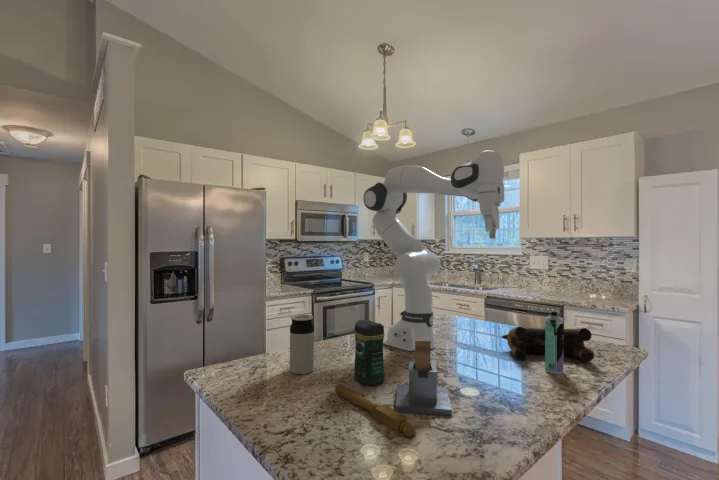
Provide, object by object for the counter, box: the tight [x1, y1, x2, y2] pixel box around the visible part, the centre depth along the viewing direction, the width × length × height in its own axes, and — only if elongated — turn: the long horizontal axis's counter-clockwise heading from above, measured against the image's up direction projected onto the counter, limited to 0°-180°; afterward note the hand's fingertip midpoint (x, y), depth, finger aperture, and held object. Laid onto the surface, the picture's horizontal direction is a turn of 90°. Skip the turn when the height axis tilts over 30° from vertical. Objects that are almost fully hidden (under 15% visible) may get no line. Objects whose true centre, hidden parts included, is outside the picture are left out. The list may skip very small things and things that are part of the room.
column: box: [414, 337, 432, 370], centre depth 99 cm, size 4×4×15 cm
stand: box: [394, 361, 453, 417], centre depth 99 cm, size 14×14×10 cm
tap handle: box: [334, 383, 417, 438], centre depth 93 cm, size 3×3×30 cm
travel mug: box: [289, 314, 315, 375], centre depth 122 cm, size 8×8×18 cm
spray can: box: [544, 310, 565, 375], centre depth 122 cm, size 6×6×20 cm
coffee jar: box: [353, 319, 385, 386], centre depth 114 cm, size 10×8×19 cm
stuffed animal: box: [501, 326, 595, 362], centre depth 143 cm, size 13×31×25 cm
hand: (490, 235), depth 121 cm, fingers open, 8 cm apart
